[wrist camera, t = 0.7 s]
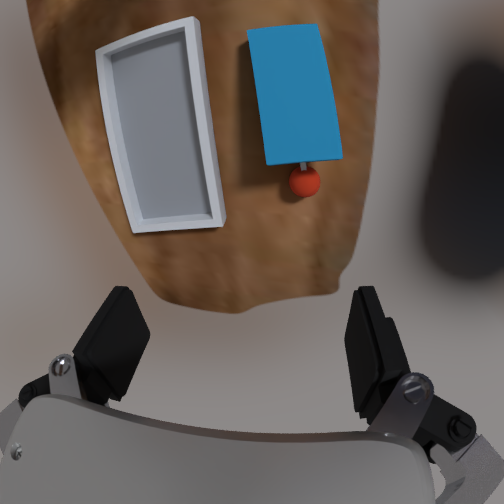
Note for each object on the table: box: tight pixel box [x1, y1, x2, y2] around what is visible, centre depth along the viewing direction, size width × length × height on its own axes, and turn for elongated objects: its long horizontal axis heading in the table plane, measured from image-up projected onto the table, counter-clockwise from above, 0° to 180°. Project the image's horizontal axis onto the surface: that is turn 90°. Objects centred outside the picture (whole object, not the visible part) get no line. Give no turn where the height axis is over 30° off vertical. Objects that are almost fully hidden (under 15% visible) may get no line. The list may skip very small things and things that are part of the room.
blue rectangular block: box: [247, 24, 343, 197], centre depth 25 cm, size 7×7×18 cm
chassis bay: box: [95, 16, 226, 233], centre depth 27 cm, size 24×12×2 cm, turn 6°
